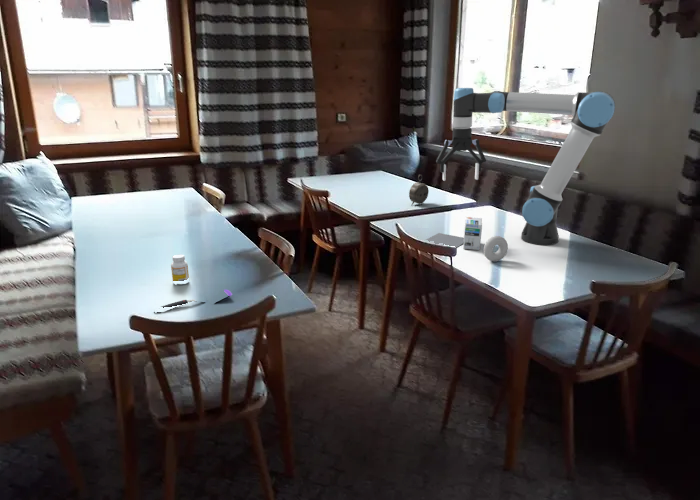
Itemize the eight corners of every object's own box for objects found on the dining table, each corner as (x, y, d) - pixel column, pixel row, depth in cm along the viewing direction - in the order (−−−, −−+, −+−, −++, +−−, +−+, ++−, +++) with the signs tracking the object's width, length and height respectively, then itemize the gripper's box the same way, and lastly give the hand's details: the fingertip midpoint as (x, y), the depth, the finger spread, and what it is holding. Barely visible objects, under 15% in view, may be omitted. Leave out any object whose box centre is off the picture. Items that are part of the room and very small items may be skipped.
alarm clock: (422, 202, 302) (423, 172, 297) (429, 204, 298) (431, 174, 293) (408, 205, 295) (409, 175, 290) (415, 207, 291) (416, 176, 286)
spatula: (156, 318, 167) (155, 310, 166) (151, 309, 172) (150, 302, 171) (233, 301, 178) (233, 294, 177) (227, 294, 183) (226, 287, 183)
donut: (503, 258, 216) (505, 233, 212) (508, 261, 212) (511, 236, 209) (480, 261, 213) (482, 236, 209) (485, 264, 209) (487, 238, 206)
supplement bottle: (179, 279, 195) (176, 252, 192) (192, 281, 193) (189, 254, 190) (169, 284, 191) (166, 257, 188) (182, 286, 189) (179, 259, 186)
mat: (470, 239, 238) (470, 238, 238) (453, 249, 226) (453, 248, 226) (438, 233, 247) (438, 233, 247) (421, 242, 235) (421, 241, 234)
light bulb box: (479, 250, 224) (482, 224, 221) (462, 249, 226) (465, 223, 222) (479, 242, 234) (482, 217, 231) (463, 240, 236) (465, 216, 232)
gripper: (490, 125, 229) (487, 177, 236) (429, 127, 228) (428, 178, 235) (495, 127, 222) (492, 180, 228) (433, 129, 221) (432, 182, 228)
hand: (460, 179), depth 232 cm, fingers open, 13 cm apart
